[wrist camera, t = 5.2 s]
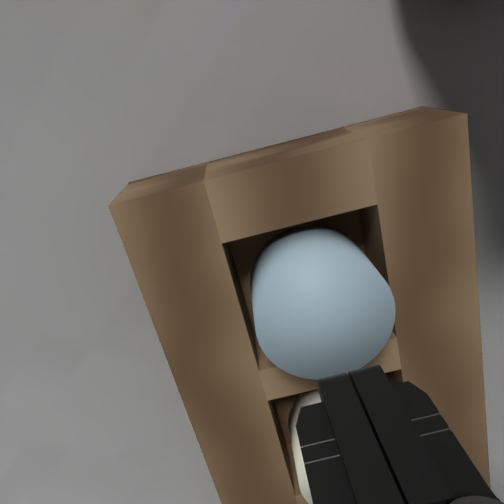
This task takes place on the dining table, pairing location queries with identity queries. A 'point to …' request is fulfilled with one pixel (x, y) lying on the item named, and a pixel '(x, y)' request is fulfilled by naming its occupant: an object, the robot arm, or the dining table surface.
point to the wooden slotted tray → (288, 217)
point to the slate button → (319, 303)
